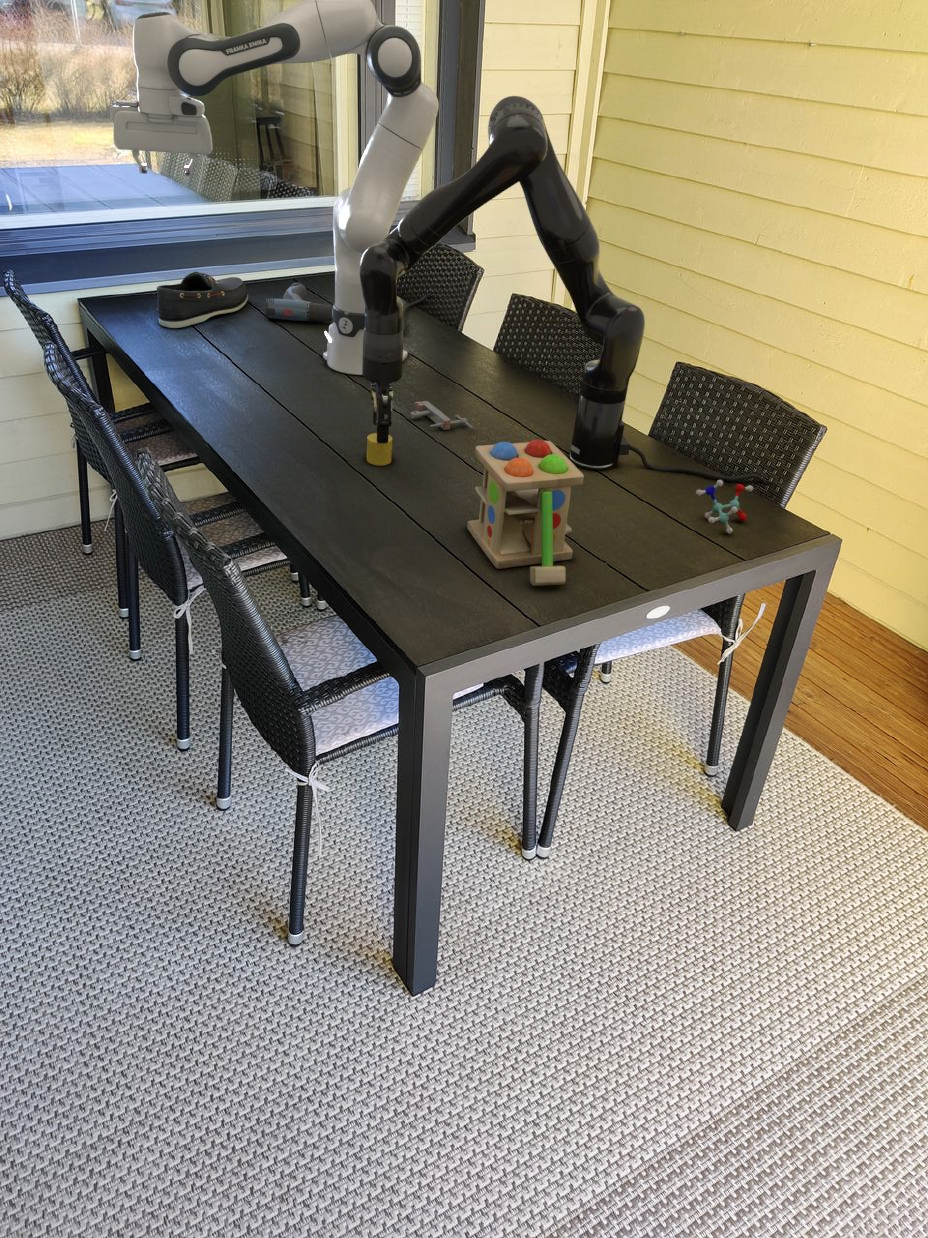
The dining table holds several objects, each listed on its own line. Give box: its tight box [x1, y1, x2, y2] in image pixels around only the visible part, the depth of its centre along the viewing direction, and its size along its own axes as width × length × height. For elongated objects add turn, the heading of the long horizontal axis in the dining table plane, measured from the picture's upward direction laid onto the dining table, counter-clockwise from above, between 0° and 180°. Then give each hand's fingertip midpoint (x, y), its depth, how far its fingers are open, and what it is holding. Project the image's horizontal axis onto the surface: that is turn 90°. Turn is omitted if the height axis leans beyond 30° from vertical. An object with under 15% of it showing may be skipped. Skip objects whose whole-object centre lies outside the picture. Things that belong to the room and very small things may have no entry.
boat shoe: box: [155, 271, 249, 329], centre depth 258 cm, size 13×33×10 cm, turn 147°
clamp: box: [409, 400, 476, 432], centre depth 212 cm, size 15×2×10 cm
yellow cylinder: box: [366, 432, 393, 466], centre depth 194 cm, size 5×5×5 cm
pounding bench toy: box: [466, 439, 585, 587], centre depth 163 cm, size 23×14×18 cm, turn 20°
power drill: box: [264, 282, 333, 322], centre depth 265 cm, size 5×19×20 cm
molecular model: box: [695, 479, 754, 535], centre depth 183 cm, size 12×10×10 cm
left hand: (166, 174), depth 212 cm, fingers open, 8 cm apart
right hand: (380, 433), depth 192 cm, fingers open, 8 cm apart
